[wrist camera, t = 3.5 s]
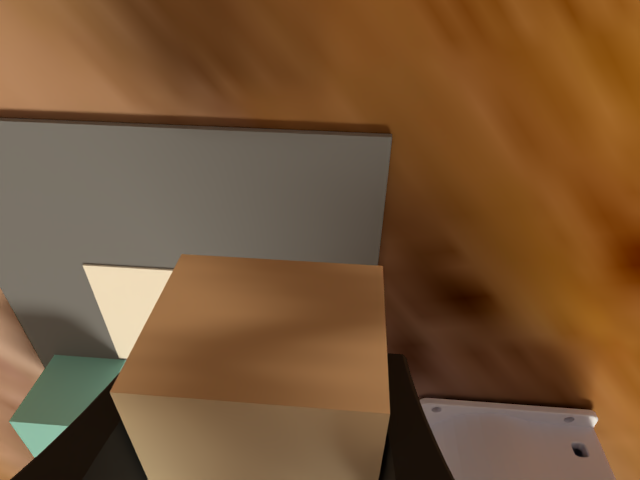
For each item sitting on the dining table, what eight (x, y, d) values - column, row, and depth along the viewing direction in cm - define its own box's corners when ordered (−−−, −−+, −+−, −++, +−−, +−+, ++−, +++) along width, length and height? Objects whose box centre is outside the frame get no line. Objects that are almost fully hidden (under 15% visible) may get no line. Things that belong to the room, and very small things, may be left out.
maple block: (382, 265, 11) (389, 413, 8) (367, 390, 14) (368, 534, 11) (181, 254, 11) (109, 392, 8) (208, 378, 14) (163, 515, 11)
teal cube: (125, 359, 25) (90, 428, 22) (141, 403, 27) (112, 470, 24) (54, 354, 25) (9, 421, 22) (77, 398, 27) (39, 463, 24)
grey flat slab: (391, 133, 16) (392, 138, 16) (360, 419, 27) (360, 426, 27) (-88, 113, 17) (-97, 117, 17) (66, 397, 28) (62, 403, 28)
